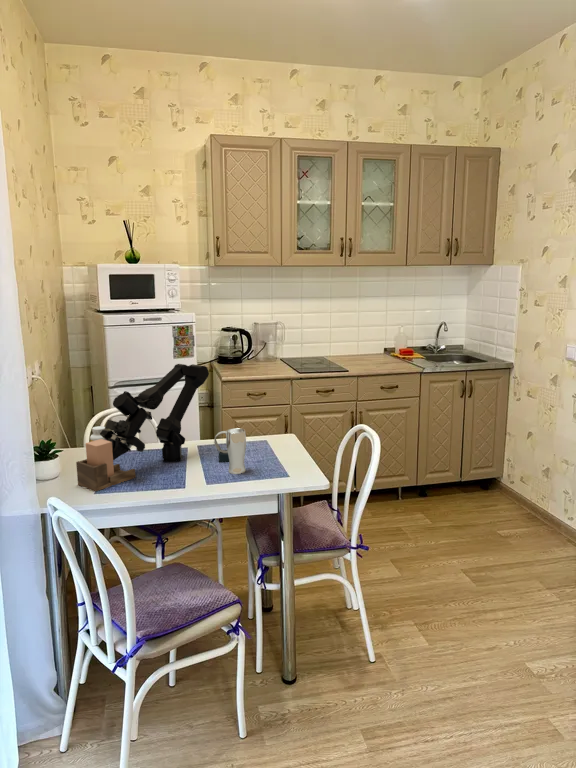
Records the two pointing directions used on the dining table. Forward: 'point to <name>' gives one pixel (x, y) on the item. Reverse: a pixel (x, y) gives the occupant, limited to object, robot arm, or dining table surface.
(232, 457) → the beer glass
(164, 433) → the robot arm
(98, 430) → the supplement bottle
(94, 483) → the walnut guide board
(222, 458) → the watch
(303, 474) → the dining table surface
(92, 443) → the terracotta block
